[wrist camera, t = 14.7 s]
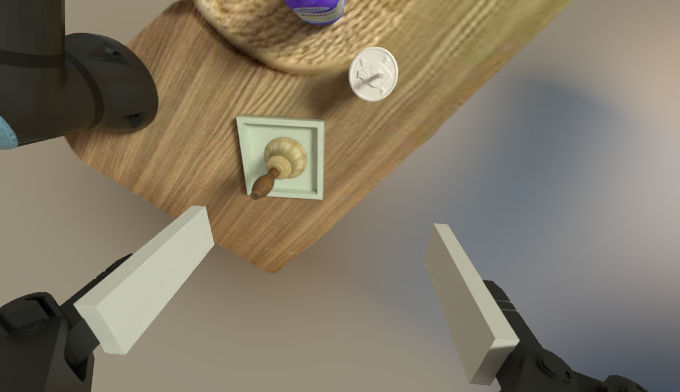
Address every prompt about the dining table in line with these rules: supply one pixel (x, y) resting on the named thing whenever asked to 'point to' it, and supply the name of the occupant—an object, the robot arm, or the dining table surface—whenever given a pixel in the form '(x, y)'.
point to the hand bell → (280, 164)
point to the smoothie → (373, 74)
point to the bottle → (317, 10)
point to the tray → (303, 130)
